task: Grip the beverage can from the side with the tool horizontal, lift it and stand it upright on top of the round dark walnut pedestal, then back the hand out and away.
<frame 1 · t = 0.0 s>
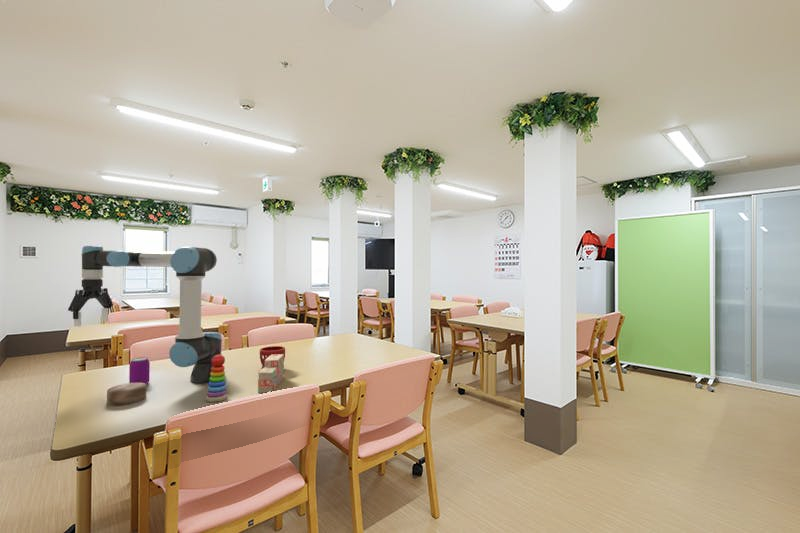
hand: (91, 323, 168), 28 cm above the table, tool pointing down, fingers open, 13 cm apart
walnut pedestal: (127, 399, 149), on the table
beverage can: (139, 384, 167), on the table
stacking toy: (216, 399, 151), on the table
plant pot: (272, 370, 193), on the table
stack of blocks: (271, 385, 169), on the table
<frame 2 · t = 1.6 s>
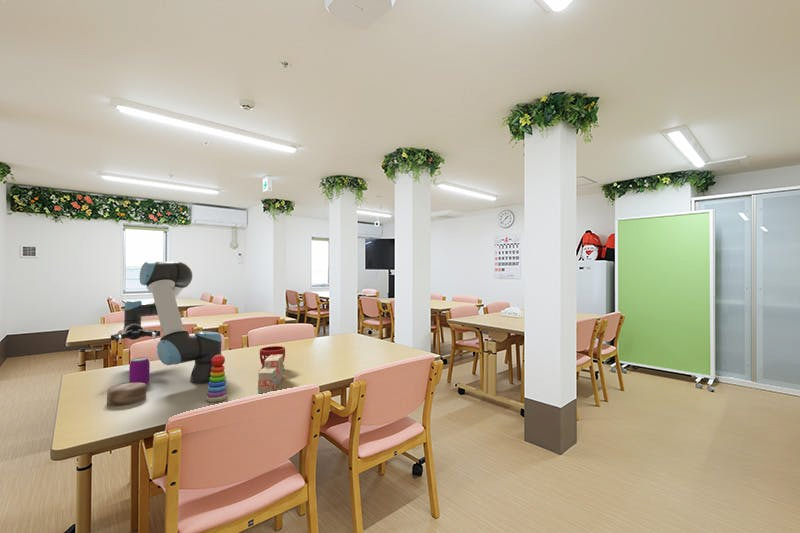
hand: (137, 338, 174), 20 cm above the table, tool horizontal, fingers open, 13 cm apart
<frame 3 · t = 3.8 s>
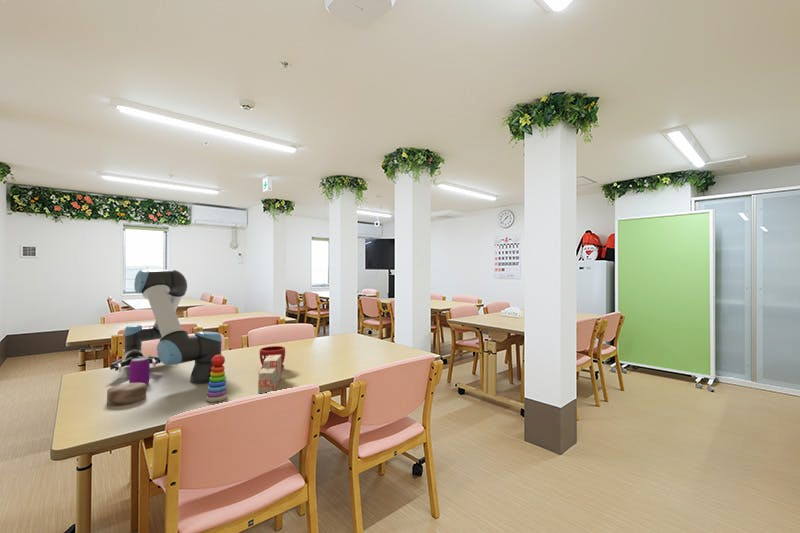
hand: (137, 366, 172), 7 cm above the table, tool horizontal, fingers open, 13 cm apart
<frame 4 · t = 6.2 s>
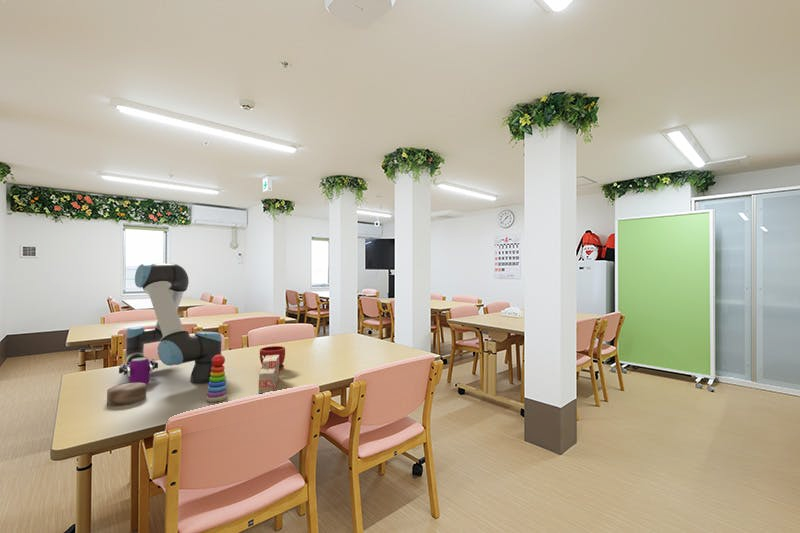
hand: (140, 371, 164), 7 cm above the table, tool horizontal, fingers closed on beverage can, 8 cm apart
beverage can: (139, 384, 167), on the table, touching gripper
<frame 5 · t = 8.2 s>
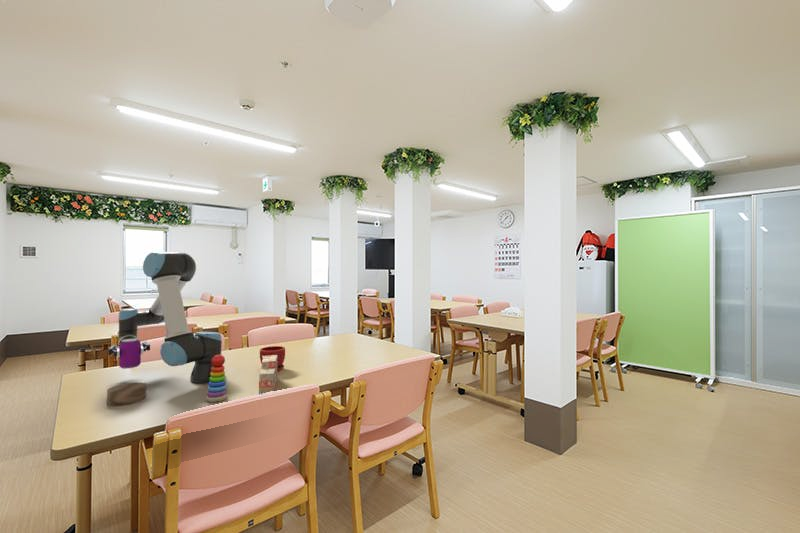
hand: (130, 353, 155), 18 cm above the table, tool horizontal, fingers closed on beverage can, 8 cm apart
beverage can: (130, 367, 158), point 11 cm above the table, touching gripper
when the fingers open (13 cm above the table, at t = 10.7 s): beverage can drops 1 cm, resting on walnut pedestal.
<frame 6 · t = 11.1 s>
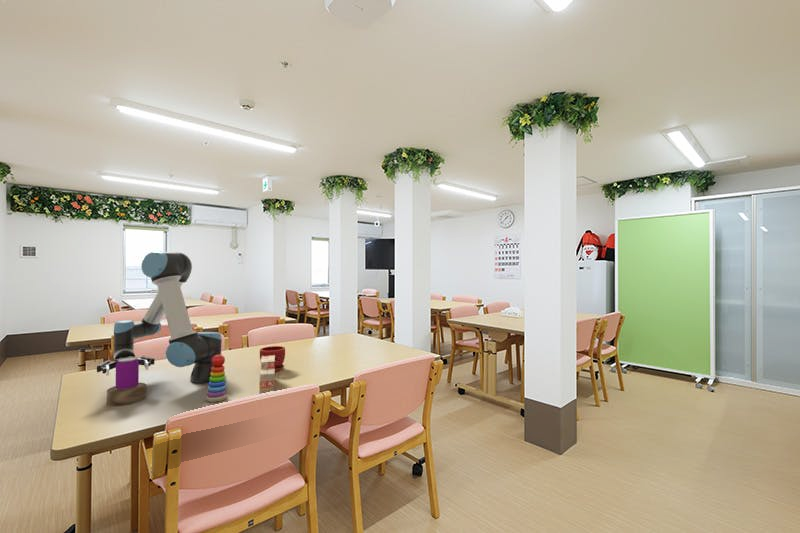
hand: (128, 369, 146), 13 cm above the table, tool horizontal, fingers open, 12 cm apart
beverage can: (127, 388, 149), point 5 cm above the table, touching walnut pedestal
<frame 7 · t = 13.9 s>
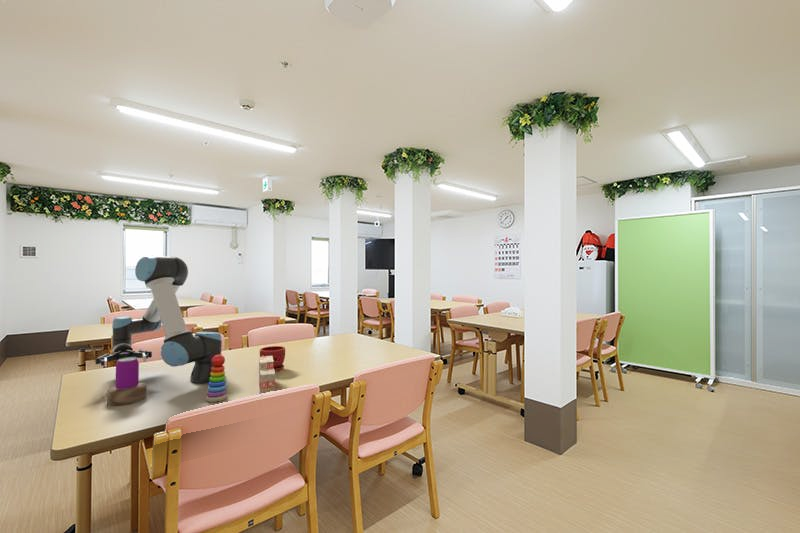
hand: (125, 361, 156), 14 cm above the table, tool horizontal, fingers open, 13 cm apart
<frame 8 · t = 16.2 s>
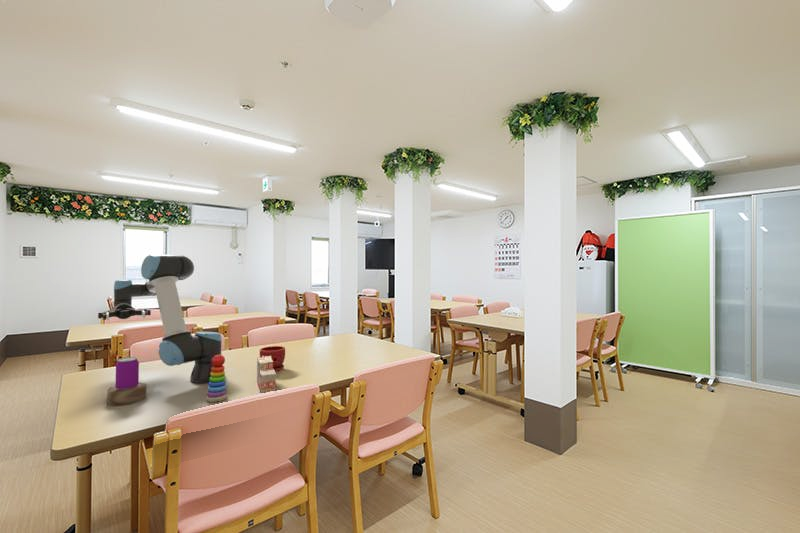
hand: (126, 315, 167), 32 cm above the table, tool horizontal, fingers open, 13 cm apart
at the end: beverage can inside the target area on the walnut pedestal (0.1 cm from its centre), point 4.8 cm above the walnut pedestal's base; beverage can tilted 0°; the gripper is holding nothing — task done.
